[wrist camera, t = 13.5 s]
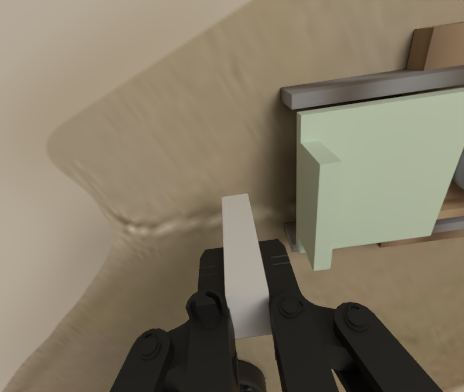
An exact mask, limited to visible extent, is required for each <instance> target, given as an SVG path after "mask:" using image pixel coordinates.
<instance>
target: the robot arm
mask: <svg viewBox="0 0 464 392" xmlns="http://www.w3.org/2000/svg"><path fill="white" fill-rule="evenodd" d="M222 215H223V245H224V247H222V248H214V249H207V250H205V251H204V253H203V254H202V256H201V258H200V269H199V280H198V292H196V293H195V294H193V295H192V296H191V297H190V299H189V300H188V302H187V305H186V310H187V313H188V315H189V318H190V319H189V320H188V321H187V322H186V323H184V324H183V325H181V326H179V327H177V328H175V329H173V330H171V331H169V332H165V331H164V330H162V329H159V328H158V329H151V330H149V331H146V332H144V333H143V334H142V335H141V336H140V337H138V338H137V340H136V341H135V343H134V344H133V346H132V348H131V350H130V352H129V354H128V356H127V358H126V360H125V362H124V364H123V366H122V368H121V370H120V372H119V374H118V376H117V378H116V380H115V382H114V384H113V386H112V388H111V390H110V392H267V390H266V383H265V377H264V375H263V373H262V372H261V371H260V370H259V369H258V368H257V367H255V366H253V365H251V364H249V363H246V362H243V361H239V360H238V359H237V352H236V347H235V339H239V338H247V337H255V336H262V335H270V334H272V335H273V340H274V349H275V360H277V365H278V371H279V376H280V381H281V387H282V392H339V391H338V388H337V385H336V382H335V379H334V376H333V374H332V371H331V369H333V370H334V372H335V373H336V375H337V377H338V378H339V380H340V382H341V383H342V385H343V387H344V388H345V390H346V392H443V391H442V390H441V389H440V388H439V387H438V386H437V384H436V383H435V382H434V381H433V380H432V379H431V378H430V377H429V375H428V374H427V373H426V372H425V371H424V370H423V369H422V367H421V366H420V365H419V364H418V363H417V362H416V361H415V360H414V358H413V357H412V356H411V355H410V354H409V353H408V352H407V351H406V349H405V348H404V347H403V346H402V345H401V344H400V343H399V341H398V340H397V339H396V338H395V337H394V336H393V335H392V334H391V332H390V331H389V330H388V329H387V328H386V327H385V326H384V325H383V323H382V322H381V321H380V320H379V319H378V318H377V317H376V315H375V314H374V313H373V312H371V311H370V310H369V309H368V308H367V307H365V306H363V305H361V304H359V303H353V302H347V303H342V304H341V305H339V306H338V307H337V309H332V308H326V307H321V306H317V305H315V304H313V303H311V302H309V301H308V300H307V299H305V298H304V296H303V295H302V294H301V292H300V290H299V287H298V284H297V281H296V278H295V275H294V272H293V269H292V266H291V263H290V260H289V257H288V255H287V252H286V249H285V246H284V245H283V244H282V243H281V242H280V241H279V240H278V239H274V240H267V241H260V242H258V239H257V234H256V230H255V225H254V220H253V216H252V211H251V206H250V201H249V197H248V193H247V194H240V195H233V196H226V197H222Z"/></svg>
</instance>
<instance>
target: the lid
mask: <svg viewBox="0 0 464 392" xmlns="http://www.w3.org/2000/svg"><path fill="white" fill-rule="evenodd" d="M463 148H464V88H457V89H450V90H444V91H437V92H430V93H423V94H416V95H410V96H403V97H396V98H389V99H382V100H376V101H369V102H362V103H355V104H349V105H342V106H335V107H328V108H321V109H315V110H308V111H301V112H297V174H296V247H297V249H298V252H299V253H306V254H307V257H308V259H309V261H310V264H311V266H312V268H313V270H314V271H317V270H325V269H330V267H331V258H332V249H336V248H343V247H350V246H358V245H365V244H373V243H380V242H388V241H395V240H402V239H410V238H417V237H425V236H431V233H432V230H433V228H434V225H435V222H436V220H437V217H438V214H439V212H440V209H441V206H442V204H443V201H444V198H445V196H446V193H447V190H448V188H449V185H450V182H451V180H452V177H453V174H454V172H455V169H456V166H457V164H458V161H459V158H460V156H461V153H462V151H463Z"/></svg>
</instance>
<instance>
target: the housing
mask: <svg viewBox="0 0 464 392" xmlns="http://www.w3.org/2000/svg"><path fill="white" fill-rule="evenodd" d="M457 88H464V22H459V23H453V24H446V25H440V26H433V27H427V28H420V29H415V31H414V36H413V40H412V45H411V50H410V55H409V59H408V64H407V69H403V70H396V71H390V72H383V73H376V74H370V75H363V76H356V77H350V78H343V79H336V80H330V81H323V82H316V83H310V84H303V85H296V86H290V87H283V88H281V101H282V102H283V103H284V104H286V105H287V106H288V107H289V108H290V109H292V110H293V109H299V108H306V107H313V106H320V105H327V104H333V103H340V102H347V101H354V100H361V99H367V98H374V97H381V96H388V95H394V94H401V97H403V96H410V95H416V94H423V93H430V92H437V91H444V90H450V89H457ZM284 231H285V233H286V236H287V239H288V241H289V244H290V247H291V249H292V252H297V251H298V249H297V247H296V222H291V223H284ZM463 236H464V148H463V151H462V153H461V156H460V158H459V161H458V164H457V166H456V169H455V172H454V174H453V177H452V180H451V182H450V185H449V188H448V190H447V193H446V196H445V198H444V201H443V204H442V206H441V209H440V212H439V214H438V217H437V220H436V222H435V225H434V228H433V230H432V233H431V236H425V237H417V238H410V239H402V240H395V241H388V242H380V243H377V244H378V246H379V247H380V248H381V247H388V246H395V245H403V244H410V243H418V242H425V241H433V240H440V239H448V238H455V237H463Z"/></svg>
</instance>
